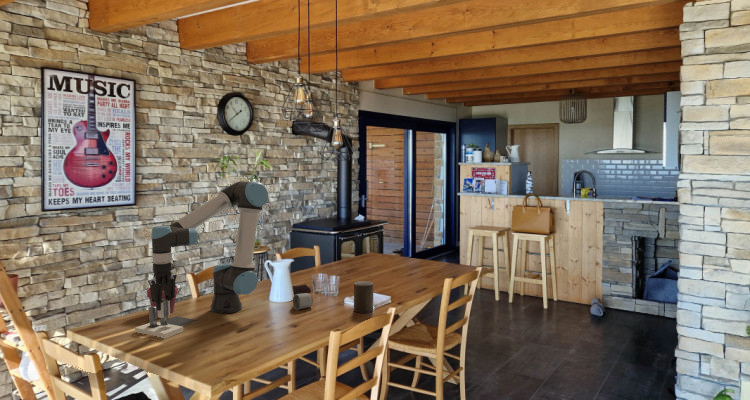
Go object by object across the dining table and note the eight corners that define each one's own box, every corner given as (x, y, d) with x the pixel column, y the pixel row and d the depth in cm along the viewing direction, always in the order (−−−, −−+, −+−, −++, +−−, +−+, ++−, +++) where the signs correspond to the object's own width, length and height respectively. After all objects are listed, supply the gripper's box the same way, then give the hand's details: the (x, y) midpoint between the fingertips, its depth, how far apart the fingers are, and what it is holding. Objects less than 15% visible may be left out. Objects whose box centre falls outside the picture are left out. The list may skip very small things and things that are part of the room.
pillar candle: (361, 314, 254) (361, 283, 253) (349, 309, 262) (350, 279, 261) (377, 311, 260) (377, 281, 259) (365, 306, 268) (366, 277, 267)
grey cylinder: (314, 308, 266) (313, 293, 265) (300, 311, 260) (299, 295, 260) (303, 304, 274) (302, 289, 273) (289, 307, 269) (288, 292, 268)
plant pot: (143, 313, 259) (141, 287, 258) (171, 307, 269) (169, 282, 268) (155, 319, 249) (153, 292, 248) (183, 312, 259) (182, 287, 258)
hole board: (154, 326, 238) (154, 321, 238) (183, 332, 230) (183, 326, 230) (135, 333, 229) (134, 327, 229) (164, 339, 221) (164, 333, 221)
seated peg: (154, 330, 233) (152, 305, 232) (158, 331, 232) (157, 306, 231) (148, 332, 230) (147, 307, 230) (153, 333, 229) (152, 308, 228)
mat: (176, 317, 252) (176, 316, 252) (198, 320, 246) (198, 320, 246) (152, 325, 240) (152, 324, 240) (174, 329, 234) (174, 328, 234)
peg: (164, 323, 230) (163, 298, 229) (169, 324, 228) (168, 299, 227) (158, 325, 227) (157, 300, 226) (163, 326, 226) (162, 300, 225)
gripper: (170, 258, 234) (172, 310, 236) (140, 264, 220) (142, 320, 222) (182, 259, 231) (184, 312, 233) (153, 266, 217) (155, 322, 218)
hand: (164, 316), depth 227 cm, fingers closed on peg, 3 cm apart
